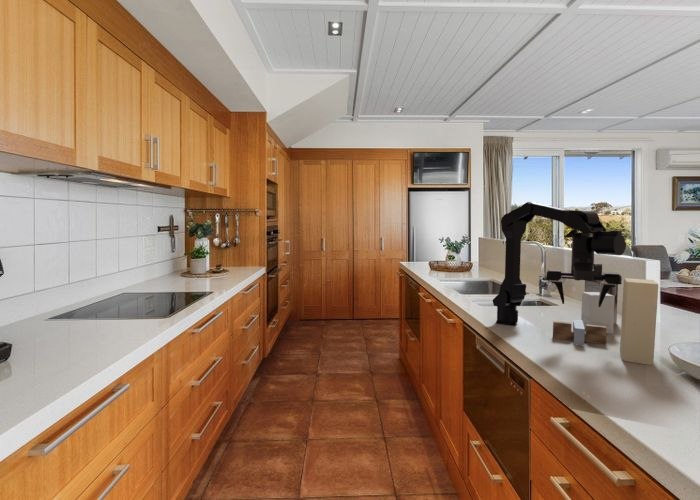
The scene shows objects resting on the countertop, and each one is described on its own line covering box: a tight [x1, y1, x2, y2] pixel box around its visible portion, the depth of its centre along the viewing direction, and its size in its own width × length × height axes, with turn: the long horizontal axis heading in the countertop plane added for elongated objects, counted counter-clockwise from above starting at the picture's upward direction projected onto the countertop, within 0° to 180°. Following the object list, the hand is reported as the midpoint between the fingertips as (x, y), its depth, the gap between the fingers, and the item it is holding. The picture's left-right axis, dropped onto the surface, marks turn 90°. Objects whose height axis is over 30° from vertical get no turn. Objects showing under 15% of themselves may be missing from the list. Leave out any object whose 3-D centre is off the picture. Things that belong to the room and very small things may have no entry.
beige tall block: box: [619, 277, 659, 366], centre depth 100 cm, size 8×7×21 cm
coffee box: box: [584, 280, 619, 324], centre depth 138 cm, size 9×6×16 cm
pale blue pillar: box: [572, 319, 586, 347], centre depth 117 cm, size 2×12×5 cm, turn 152°
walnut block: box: [552, 320, 607, 345], centre depth 117 cm, size 14×2×5 cm, turn 61°
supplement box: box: [580, 291, 615, 335], centre depth 128 cm, size 7×7×13 cm
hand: (580, 305), depth 113 cm, fingers open, 9 cm apart
